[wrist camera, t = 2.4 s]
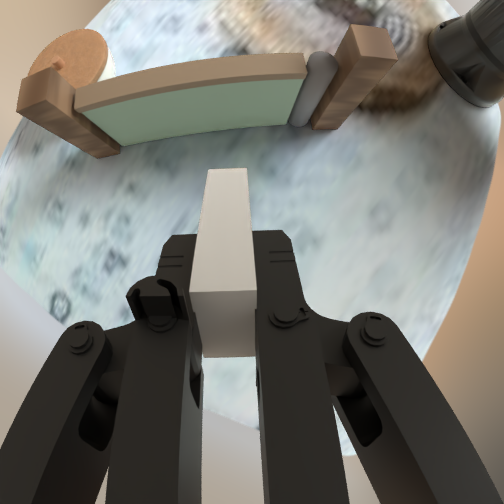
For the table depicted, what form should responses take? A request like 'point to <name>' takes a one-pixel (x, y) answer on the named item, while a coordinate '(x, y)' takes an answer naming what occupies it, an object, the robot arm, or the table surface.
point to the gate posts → (324, 117)
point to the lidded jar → (78, 58)
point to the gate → (208, 96)
